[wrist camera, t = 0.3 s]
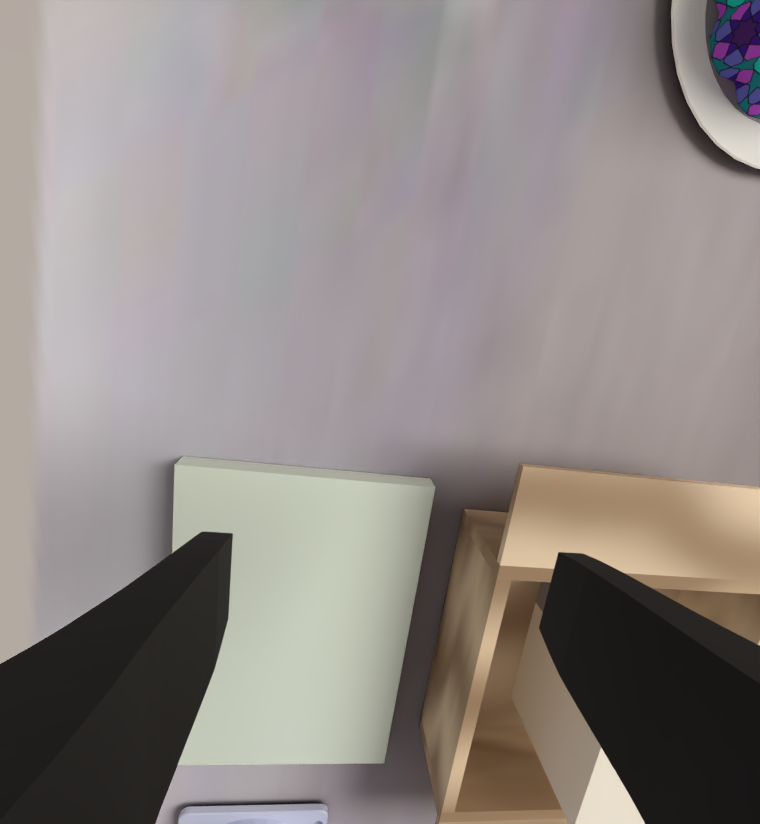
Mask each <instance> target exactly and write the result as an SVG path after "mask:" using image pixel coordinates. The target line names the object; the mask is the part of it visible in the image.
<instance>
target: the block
mask: <svg viewBox="0 0 760 824" xmlns="http://www.w3.org/2000/svg"><path fill="white" fill-rule="evenodd" d="M550 583H551V582H541V584H540V588H539V592H538V595H537V599H536V603H535V607H534V610H533V614H532V618H531V622H530V625H529V629H528V633H527V637H526V640H525V644H524V648H523V652H522V656H521V659H520V663H519V667H518V671H517V674H516V678H515V682H514V686H513V689H512V693H511V698H512V700H513V703H514V705H515V707H516V709H517V711H518V714H519V716H520V718H521V720H522V722H523V725H524V727H525V729H526V731H527V733H528V736H529V738H530V740H531V742H532V744H533V747H534V749H535V751H536V753H537V756H538V758H539V760H540V762H541V764H542V767H543V769H544V771H545V773H546V775H547V778H548V780H549V782H550V784H551V786H552V789H553V791H554V793H555V795H556V797H557V800H558V802H559V804H560V806H561V808H562V811H563V813H564V815H565V817H566V819H567V822H568V824H645V822H644V821H643V819H642V817H641V815H640V813H639V812H638V810H637V808H636V806H635V804H634V802H633V801H632V799H631V797H630V795H629V793H628V792H627V790H626V788H625V787H624V785H623V783H622V782H621V780H620V778H619V777H618V775H617V773H616V771H615V770H614V768H613V766H612V765H611V763H610V761H609V760H608V758H607V756H606V755H605V753H604V751H603V749H602V748H601V746H600V744H599V743H598V741H597V739H596V738H595V736H594V734H593V733H592V731H591V729H590V727H589V726H588V724H587V722H586V721H585V719H584V717H583V716H582V714H581V712H580V710H579V709H578V707H577V705H576V704H575V702H574V700H573V698H572V697H571V695H570V693H569V691H568V690H567V688H566V686H565V684H564V683H563V681H562V679H561V677H560V676H559V674H558V671H557V669H556V667H555V665H554V663H553V660H552V658H551V656H550V654H549V652H548V649H547V647H546V644H545V642H544V639H543V637H542V635H541V632H540V630H539V625H540V622H541V618H542V614H543V610H544V606H545V602H546V598H547V594H548V591H549V587H550Z"/></svg>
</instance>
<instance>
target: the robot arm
mask: <svg viewBox="0 0 760 824" xmlns="http://www.w3.org/2000/svg"><path fill="white" fill-rule="evenodd" d="M232 540H233V533H220V532H201V533H199V534H198V535H196V536H195V537H193V538H192V539H191V540H189V541H188V542H187V543H185V544H184V545H183V546H181V547H180V548H179V549H177V550H176V551H175V552H173V553H172V554H170V555H169V556H168V557H166V558H165V559H164V560H162V561H161V562H160V563H158V564H157V565H156V566H154V567H153V568H151V569H150V570H149V571H147V572H146V573H144V574H143V575H142V576H140V577H139V578H137V579H136V580H135V581H133V582H132V583H130V584H129V585H128V586H126V587H125V588H123V589H122V590H120V591H119V592H117V593H116V594H114V595H113V596H111V597H110V598H108V599H106V600H105V601H103V602H102V603H100V604H99V605H97V606H96V607H94V608H93V609H91V610H90V611H88V612H87V613H85V614H84V615H82V616H80V617H79V618H77V619H76V620H74V621H73V622H71V623H70V624H68V625H67V626H65V627H63V628H62V629H60V630H58V631H57V632H55V633H54V634H52V635H50V636H49V637H47V638H45V639H43V640H42V641H40V642H38V643H37V644H35V645H33V646H32V647H30V648H28V649H27V650H25V651H23V652H21V653H19V654H17V655H16V656H14V657H12V658H10V659H9V660H7V661H5V662H3V663H1V664H0V824H155V823H156V820H157V817H158V814H159V811H160V809H161V806H162V803H163V801H164V798H165V796H166V793H167V791H168V788H169V786H170V783H171V780H172V778H173V775H174V773H175V770H176V768H177V765H178V762H179V760H180V757H181V755H182V752H183V750H184V747H185V745H186V742H187V739H188V737H189V734H190V732H191V729H192V727H193V724H194V722H195V719H196V717H197V714H198V711H199V709H200V706H201V704H202V701H203V698H204V696H205V693H206V691H207V688H208V685H209V683H210V680H211V678H212V675H213V672H214V670H215V666H216V662H217V659H218V655H219V652H220V648H221V644H222V641H223V637H224V633H225V629H226V626H227V622H228V615H229V597H230V578H231V559H232ZM539 630H540V632H541V635H542V637H543V639H544V642H545V644H546V647H547V649H548V652H549V654H550V656H551V658H552V660H553V663H554V665H555V667H556V669H557V671H558V674H559V676H560V677H561V679H562V681H563V683H564V684H565V686H566V688H567V690H568V691H569V693H570V695H571V697H572V698H573V700H574V702H575V704H576V705H577V707H578V709H579V710H580V712H581V714H582V716H583V717H584V719H585V721H586V722H587V724H588V726H589V727H590V729H591V731H592V733H593V734H594V736H595V738H596V739H597V741H598V743H599V744H600V746H601V748H602V749H603V751H604V753H605V755H606V756H607V758H608V760H609V761H610V763H611V765H612V766H613V768H614V770H615V771H616V773H617V775H618V777H619V778H620V780H621V782H622V783H623V785H624V787H625V788H626V790H627V792H628V793H629V795H630V797H631V799H632V801H633V802H634V804H635V806H636V808H637V810H638V812H639V813H640V815H641V817H642V819H643V821H644V822H645V824H760V645H758V644H756V643H754V642H752V641H750V640H748V639H746V638H744V637H742V636H740V635H738V634H736V633H734V632H732V631H730V630H728V629H726V628H724V627H722V626H721V625H719V624H717V623H715V622H713V621H711V620H709V619H707V618H706V617H704V616H702V615H700V614H698V613H696V612H694V611H693V610H691V609H689V608H687V607H685V606H683V605H681V604H680V603H678V602H676V601H674V600H672V599H671V598H669V597H667V596H665V595H663V594H661V593H660V592H658V591H656V590H654V589H652V588H651V587H649V586H647V585H645V584H643V583H641V582H640V581H638V580H636V579H634V578H632V577H630V576H629V575H627V574H625V573H623V572H621V571H619V570H617V569H615V568H613V567H611V566H609V565H607V564H605V563H603V562H601V561H599V560H597V559H595V558H593V557H590V556H588V555H586V554H583V553H566V552H558V556H557V560H556V563H555V567H554V571H553V575H552V579H551V583H550V587H549V591H548V594H547V598H546V602H545V606H544V610H543V614H542V618H541V622H540V625H539ZM327 820H328V807H327V806H326V805H324V804H277V805H232V806H190V807H186V808H184V809H183V810H182V811H181V812H180V816H179V819H178V824H327Z"/></svg>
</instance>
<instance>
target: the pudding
mask: <svg viewBox="0 0 760 824" xmlns="http://www.w3.org/2000/svg"><path fill="white" fill-rule="evenodd" d="M715 2H716V5H717V7H718V10H719V13H720V15H719V17H718V19H717V21H716V24H715V26H714V28H713V30H712V33H711V35H710V49H711V59H712V61H713V63H714V66H715V68H716V70H717V72H718V74H719V75H720V76H722V77H725V78H727V79H729V80H732V81H734V82H735V86H736V95H737V104H738V105H739V106H740V107H741V108H742V109H743V110H744V111H745V112H746V113H747V114H748V115H749V116H752V117H755V118H759V119H760V0H715ZM706 5H707V0H672V6H671V28H672V47H673V53H674V59H675V64H676V70H677V75H678V78H679V81H680V84H681V87H682V90H683V93H684V96H685V98H686V101H687V104H688V105H689V107H690V109H691V111H692V113H693V114H694V116H695V118H696V120H697V122H698V123H699V125H700V127H701V128H702V129H703V130H704V131H705V132H706V134H707V135H708V136H709V137H710V138H711V140H712V141H713V142H714V143H715V144H716V145H717V146H718V147H720V148H721V149H722V150H723V151H725V152H726V153H727V154H729V155H730V156H731V157H733V158H734V159H736V160H738V161H740V162H743V163H745V164H747V165H749V166H751V167H754V168H757V169H760V123H757V122H755V121H753V120H751V119H749V118H747V117H746V116H745V115H743V114H742V113H741V112H740V111H738V110H737V109H736V108H735V107H734V106H733V105H732V104H731V102H730V101H729V100H728V99H727V97H726V96H725V95H724V94H723V92H722V90H721V88H720V86H719V84H718V82H717V80H716V79H715V76H714V73H713V70H712V67H711V64H710V60H709V56H708V49H707V43H706V28H705V14H706Z"/></svg>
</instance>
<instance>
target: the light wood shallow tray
mask: <svg viewBox="0 0 760 824" xmlns="http://www.w3.org/2000/svg"><path fill="white" fill-rule="evenodd" d="M558 552H566V553H583V554H586V555H588V556H590V557H593V558H595V559H597V560H599V561H601V562H603V563H605V564H607V565H609V566H611V567H613V568H615V569H617V570H619V571H621V572H623V573H625V574H627V575H629V576H630V577H632V578H634V579H636V580H638V581H640V582H641V583H643V584H645V585H647V586H649V587H651V588H652V589H654V590H656V591H658V592H660V593H661V594H663V595H665V596H667V597H669V598H671V599H672V600H674V601H676V602H678V603H680V604H681V605H683V606H685V607H687V608H689V609H691V610H693V611H694V612H696V613H698V614H700V615H702V616H704V617H706V618H707V619H709V620H711V621H713V622H715V623H717V624H719V625H721V626H722V627H724V628H726V629H728V630H730V631H732V632H734V633H736V634H738V635H740V636H742V637H744V638H746V639H748V640H750V641H752V642H754V643H756V644H758V645H760V487H755V486H744V485H734V484H724V483H714V482H704V481H694V480H684V479H674V478H664V477H654V476H644V475H633V474H623V473H613V472H603V471H593V470H583V469H573V468H563V467H553V466H543V465H533V464H522V463H520V465H519V469H518V473H517V477H516V482H515V486H514V490H513V494H512V499H511V503H510V507H509V512H496V511H484V510H472V509H463V514H462V519H461V524H460V529H459V534H458V538H457V543H456V548H455V553H454V558H453V563H452V568H451V572H450V577H449V582H448V587H447V592H446V597H445V602H444V606H443V611H442V616H441V621H440V626H439V631H438V636H437V640H436V645H435V650H434V655H433V660H432V665H431V669H430V674H429V679H428V684H427V689H426V694H425V699H424V703H423V708H422V713H421V718H420V723H419V726H420V731H421V736H422V741H423V746H424V751H425V756H426V761H427V765H428V770H429V775H430V780H431V785H432V790H433V795H434V800H435V805H436V809H437V814H438V815H437V819H436V823H435V824H568V822H567V819H566V817H565V815H564V813H563V811H562V808H561V806H560V804H559V802H558V800H557V797H556V795H555V793H554V791H553V789H552V786H551V784H550V782H549V780H548V778H547V775H546V773H545V771H544V769H543V767H542V764H541V762H540V760H539V758H538V756H537V753H536V751H535V749H534V747H533V744H532V742H531V740H530V738H529V736H528V733H527V731H526V729H525V727H524V725H523V722H522V720H521V718H520V716H519V714H518V711H517V709H516V707H515V705H514V703H513V700H512V698H511V693H512V689H513V686H514V682H515V678H516V674H517V671H518V667H519V663H520V659H521V656H522V652H523V648H524V644H525V640H526V637H527V633H528V629H529V625H530V622H531V618H532V614H533V610H534V607H535V603H536V599H537V595H538V592H539V588H540V584H541V582H551V579H552V575H553V571H554V567H555V563H556V560H557V556H558Z"/></svg>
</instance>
